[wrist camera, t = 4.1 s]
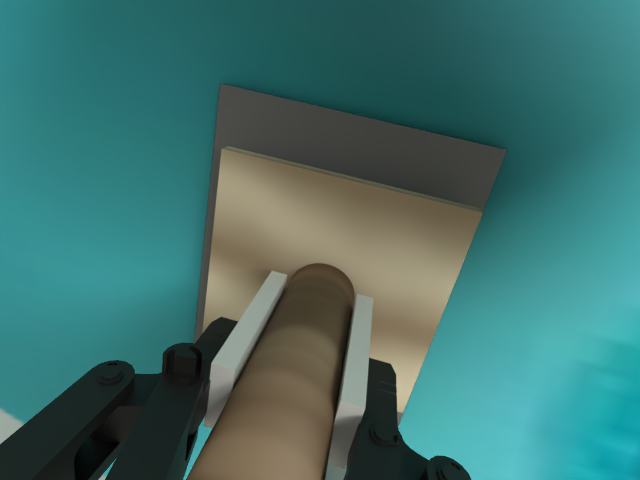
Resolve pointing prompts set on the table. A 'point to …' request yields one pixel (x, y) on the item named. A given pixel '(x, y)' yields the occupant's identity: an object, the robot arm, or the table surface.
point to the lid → (319, 301)
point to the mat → (346, 154)
